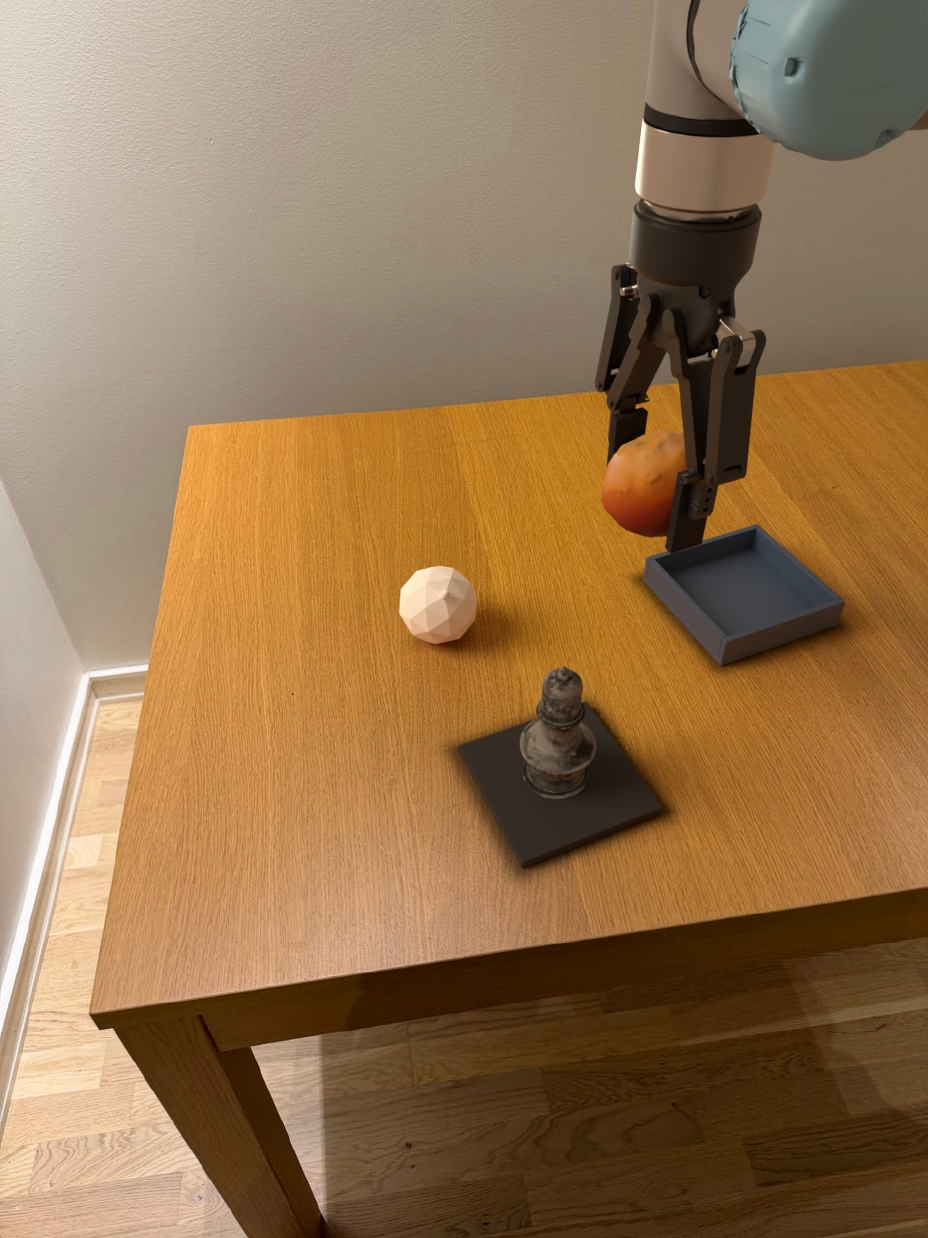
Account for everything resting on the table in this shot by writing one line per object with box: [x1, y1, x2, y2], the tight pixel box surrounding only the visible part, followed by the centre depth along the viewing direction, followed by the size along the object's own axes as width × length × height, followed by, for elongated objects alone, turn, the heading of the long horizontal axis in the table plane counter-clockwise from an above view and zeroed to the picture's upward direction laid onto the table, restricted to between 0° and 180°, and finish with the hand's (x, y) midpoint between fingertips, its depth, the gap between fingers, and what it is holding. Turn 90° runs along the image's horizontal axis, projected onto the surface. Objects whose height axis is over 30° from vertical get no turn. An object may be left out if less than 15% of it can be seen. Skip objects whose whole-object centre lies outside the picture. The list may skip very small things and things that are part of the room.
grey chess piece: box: [520, 665, 596, 800], centre depth 66 cm, size 6×6×12 cm
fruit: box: [600, 430, 706, 539], centre depth 66 cm, size 8×8×8 cm
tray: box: [642, 523, 847, 667], centre depth 85 cm, size 13×13×3 cm
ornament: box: [398, 565, 478, 645], centre depth 81 cm, size 7×7×8 cm
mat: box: [457, 701, 663, 869], centre depth 71 cm, size 12×12×1 cm
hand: (651, 514), depth 68 cm, fingers closed on fruit, 8 cm apart
